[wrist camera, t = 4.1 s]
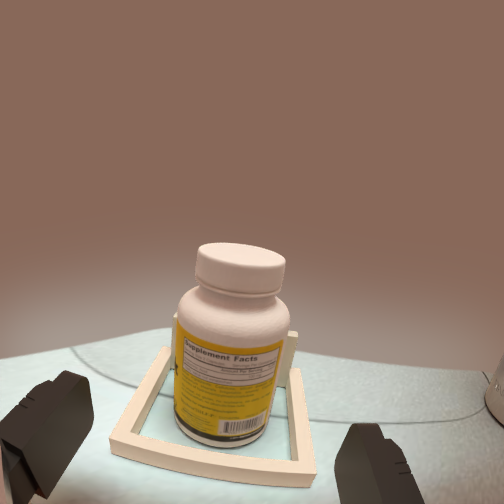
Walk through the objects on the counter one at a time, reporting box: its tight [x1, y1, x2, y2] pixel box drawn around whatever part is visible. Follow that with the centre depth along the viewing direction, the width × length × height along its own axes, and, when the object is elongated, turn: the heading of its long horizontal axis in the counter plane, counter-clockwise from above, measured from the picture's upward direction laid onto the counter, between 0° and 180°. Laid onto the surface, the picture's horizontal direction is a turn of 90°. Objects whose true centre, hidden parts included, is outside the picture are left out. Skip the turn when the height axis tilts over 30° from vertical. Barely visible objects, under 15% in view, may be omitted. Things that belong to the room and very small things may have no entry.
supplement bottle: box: [174, 243, 290, 447], centre depth 16 cm, size 5×5×10 cm
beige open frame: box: [109, 312, 317, 488], centre depth 16 cm, size 10×10×4 cm
